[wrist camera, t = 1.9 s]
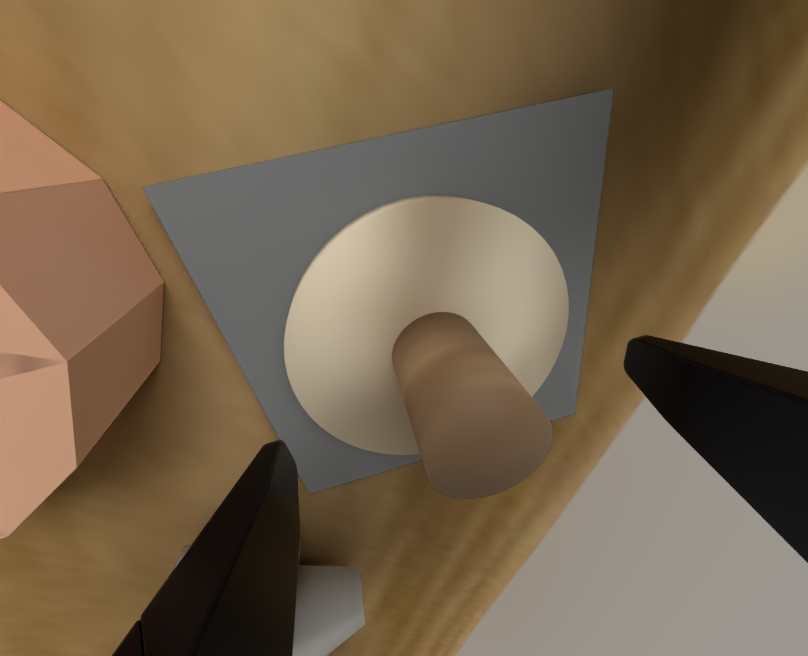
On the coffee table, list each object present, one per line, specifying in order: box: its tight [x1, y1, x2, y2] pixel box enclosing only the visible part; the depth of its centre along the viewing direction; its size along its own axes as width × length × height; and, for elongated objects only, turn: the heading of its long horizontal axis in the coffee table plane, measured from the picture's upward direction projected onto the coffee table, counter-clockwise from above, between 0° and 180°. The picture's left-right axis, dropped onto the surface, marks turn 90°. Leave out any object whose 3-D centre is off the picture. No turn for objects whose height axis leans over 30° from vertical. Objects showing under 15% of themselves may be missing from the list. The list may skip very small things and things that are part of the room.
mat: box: [142, 88, 614, 494], centre depth 11 cm, size 12×12×1 cm
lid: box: [284, 194, 569, 499], centre depth 9 cm, size 9×9×5 cm
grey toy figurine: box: [176, 545, 365, 656], centre depth 16 cm, size 10×5×15 cm
